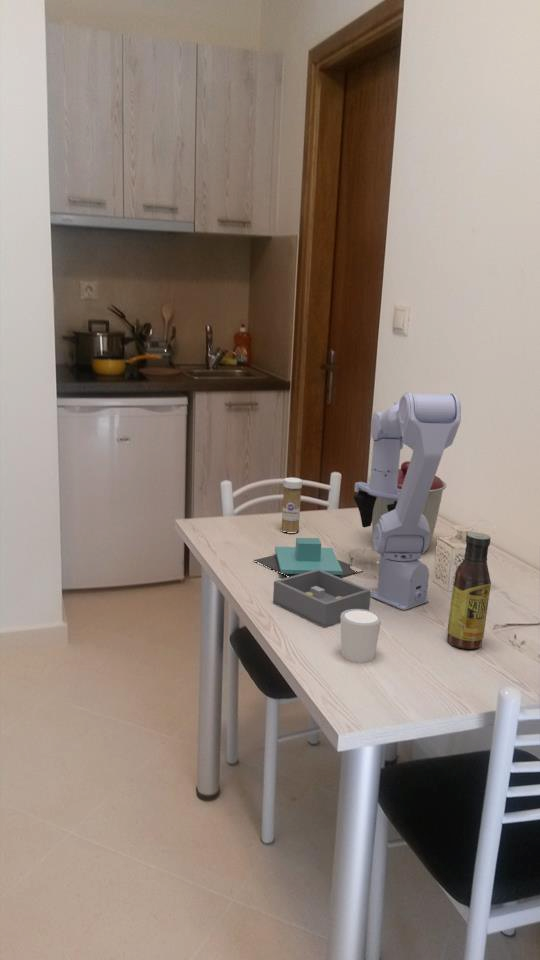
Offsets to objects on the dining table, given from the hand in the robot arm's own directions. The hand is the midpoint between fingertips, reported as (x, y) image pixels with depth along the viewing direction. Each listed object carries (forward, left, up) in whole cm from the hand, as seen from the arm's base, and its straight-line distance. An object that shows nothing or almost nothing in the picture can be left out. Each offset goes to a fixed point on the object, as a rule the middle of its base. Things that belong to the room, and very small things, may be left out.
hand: (379, 531), depth 172 cm
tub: (-7, +24, -9) cm, 27 cm away
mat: (+11, +10, -9) cm, 18 cm away
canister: (+8, -18, -10) cm, 22 cm away
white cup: (-25, +33, -10) cm, 42 cm away
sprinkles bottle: (+32, -4, -10) cm, 34 cm away
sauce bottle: (-33, +14, -10) cm, 37 cm away
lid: (+11, +10, -9) cm, 18 cm away
